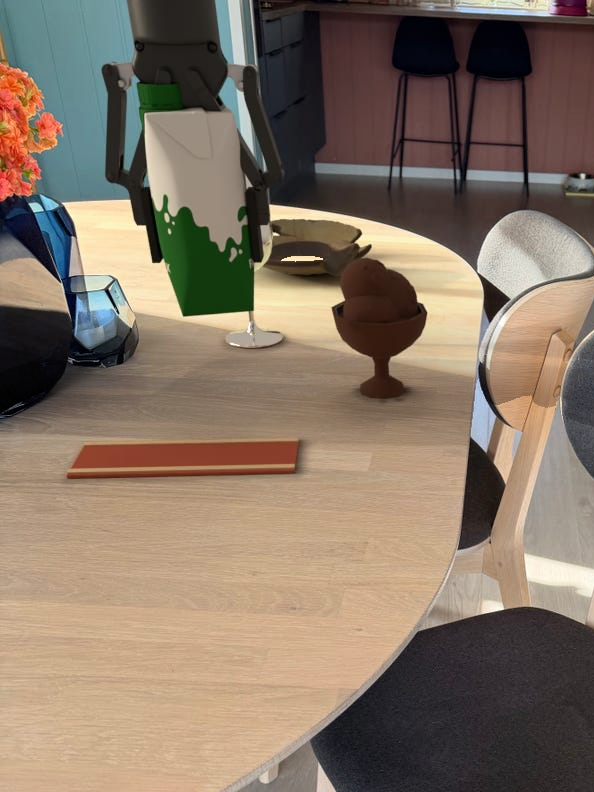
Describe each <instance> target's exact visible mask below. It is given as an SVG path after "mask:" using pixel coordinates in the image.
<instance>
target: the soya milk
mask: <svg viewBox="0 0 594 792" xmlns="http://www.w3.org/2000/svg"><path fill="white" fill-rule="evenodd" d="M136 89H137V96H138V102H139V107H138V116H139V119H140V123H141V128H142V127H143V135H144V136H145V148H146V160H147V178H148V185H149V187H150V191H151V197H152V203H153V209H154V214H155V220H156V226H157V232H158V237H159V243H160V247H161V251H162V255H163V262H164V266H165V269H166V272H167V274H168V277H169V281H170V284H171V285H172V289H173V292H174V294H175V295H174V296H175V297H176V300H177V303H178V307H179V309H180V312H181V315H182V317H183V318H185V317H187V318H188V317H199V316H210V315H223V314H224V315H225V314H233V313H234V314H235V313H248V311H254V312H255V272H254V260H253V251H252V243H251V234H250V226H249V218H248V209H247V201H246V193H245V192H246V191H247V187H246V178H245V173H244V171H243V170H242V168H241V166H240V141H239V136H238V132H237V128H238V126H237V122H236V117H235V113H234V112H233V111H232V110H231V109H230V108H229V107H228V106H227V105H226V104H225V106H226V108H225V109H224V110H223V111H222V112H208V111H206V110H203V108H189V109H187V108H182V107H183V103H182V102H183V101H182V97H181V90H180V84H168V85H152V84H142V83H141V82H140V81H137V82H136Z"/></svg>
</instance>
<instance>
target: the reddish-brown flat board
mask: <svg viewBox="0 0 594 792" xmlns="http://www.w3.org/2000/svg"><path fill="white" fill-rule="evenodd" d="M82 446H83V447H82V448H81V450H80V452H79V454H78V455H77V457H76V459H75V460H74V462H73V464H72V466H71V467H70V468H68V469H67V472H66V479H93V478H94V479H95V478H135V477H137V478H138V477H139V478H140V477H175V476H176V477H177V476H180V477H181V476H183V477H184V476H185V477H186V476H221V475H222V476H223V475H224V476H225V475H268V474H269V475H270V474H273V475H274V474H295V472H296V465H297V458H298V452H299V446H300V437H251V438H249V437H248V438H245V437H244V438H203V439H199V438H195V439H193V438H192V439H149V440H146V439H145V440H98V441H84V442H83V445H82Z"/></svg>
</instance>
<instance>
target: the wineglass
mask: <svg viewBox="0 0 594 792" xmlns="http://www.w3.org/2000/svg"><path fill="white" fill-rule="evenodd" d="M245 178H246V187H247V189H248V187H253V186H252V185H251V183H250V181H249V180H248V178H247V176H246V175H245ZM271 221H272V220H271V219H270V220H269V223H268V225H260V226H261V235H262V244H263V252H264V257H263V260H262V262H261V263H254V273H255V272H257V271H258V270H259V269H261V268H262V267H263V265H264V264H265V263H266V262H267V261H268V259H269V257H270V255H271V253H272V249H273V236H274V233H273V231H272V226H271ZM247 313H248V326H247V328H243V329H236V330H234V331H231V332H229V333H228V334H227V335H226V336H225V338H224V341H225V342H226V343H227V344H228V345H229V346H230V345H231V346H233V347H237V348H244V349H257V348H266V347H270V346H273V345H276V344H279V342H281V341H282V340H283V337H284V336H283V334H282V332H281V331H278V330H276V329H273V328H266V327H259V326H258V324H257V322H256V320H255V319H256V318H255V310H254V311H248V312H247Z"/></svg>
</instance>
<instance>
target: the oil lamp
mask: <svg viewBox="0 0 594 792" xmlns="http://www.w3.org/2000/svg"><path fill="white" fill-rule="evenodd" d="M270 221H271V226H272V231H273V234H277V235H273V249H272V253H271V255H270V257H269V259H268V261H267V262H266V263H265V264H264V265H263V266H262V267H263V268H264V269H265V268H266V269H269V270H271V271H274V272H278V273H282V272H283V273H282V274H288V273H290V274H288V275H294V276H296V274H317V275H324V274H329V275H331V276H333V277H339V276H340V277H341V274H342V272H343V271H344V269H345V268H346V266H347V265H348V264H349V263H350V262H352V261H355V260H357V259H361V258H365V256H366V255H368V253H369V252H370V251H371V250H372V248H373V247H372V244H371V243H369V244H367V245H364V246H360V245H359V243H358V242H357V241H358V240H359V239H360V238H361V237H362V235H363V232H362V230H361V229H360V228H358V227H355V226H354V225H351V224H347V223H343V222H340V221H334V220H328V219H327V220H326V219H305V218H297V219H296V218H292V219H287V218H280V219H275V220H270ZM291 256H315V257H320V258H323V260H314V261H296V262H295V261H281V260H282V259H284V258H287V257H291Z"/></svg>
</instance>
